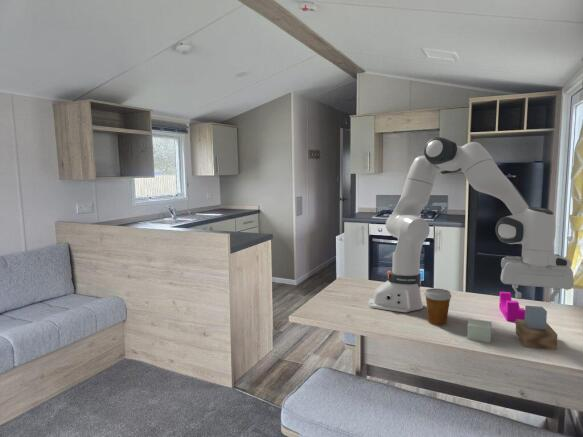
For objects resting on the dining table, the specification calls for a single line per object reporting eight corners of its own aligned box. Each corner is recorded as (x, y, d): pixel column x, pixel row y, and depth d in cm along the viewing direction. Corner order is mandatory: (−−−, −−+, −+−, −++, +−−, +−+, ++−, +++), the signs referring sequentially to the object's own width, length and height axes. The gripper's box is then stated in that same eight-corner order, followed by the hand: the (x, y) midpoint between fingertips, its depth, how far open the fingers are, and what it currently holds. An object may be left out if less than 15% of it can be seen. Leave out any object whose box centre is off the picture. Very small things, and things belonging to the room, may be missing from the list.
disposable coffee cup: (453, 327, 145) (454, 295, 144) (426, 326, 147) (426, 294, 146) (448, 318, 155) (448, 288, 154) (422, 317, 156) (422, 287, 155)
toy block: (525, 323, 149) (526, 303, 149) (507, 321, 151) (507, 302, 150) (516, 310, 164) (516, 292, 163) (499, 309, 165) (499, 291, 165)
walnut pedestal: (524, 346, 128) (524, 331, 128) (515, 333, 139) (516, 319, 139) (556, 349, 125) (557, 334, 125) (545, 335, 137) (545, 321, 136)
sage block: (467, 339, 135) (467, 325, 135) (469, 332, 141) (469, 318, 141) (490, 343, 132) (490, 328, 131) (491, 335, 138) (491, 321, 138)
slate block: (528, 328, 131) (529, 310, 130) (524, 322, 135) (525, 305, 135) (546, 329, 129) (546, 311, 129) (541, 324, 134) (542, 306, 133)
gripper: (503, 257, 129) (500, 298, 131) (577, 261, 123) (573, 305, 124) (499, 253, 135) (497, 293, 137) (570, 258, 129) (567, 300, 130)
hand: (534, 299), depth 130 cm, fingers open, 8 cm apart
